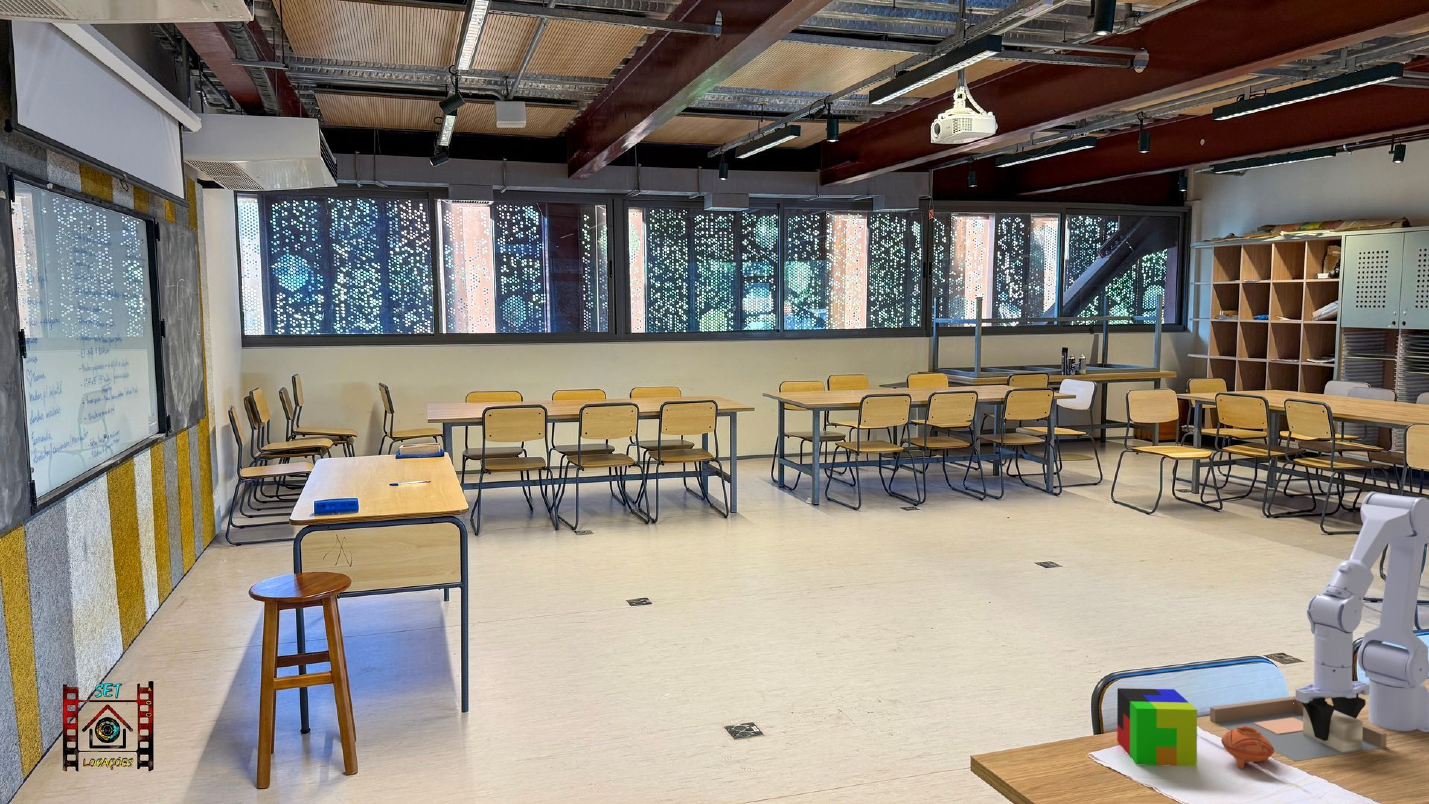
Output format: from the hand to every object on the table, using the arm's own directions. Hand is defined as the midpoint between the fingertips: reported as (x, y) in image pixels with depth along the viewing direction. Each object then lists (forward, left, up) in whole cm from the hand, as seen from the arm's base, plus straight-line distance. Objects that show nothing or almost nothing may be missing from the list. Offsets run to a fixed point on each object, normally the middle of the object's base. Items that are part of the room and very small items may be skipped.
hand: (1332, 736), depth 167 cm
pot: (+20, +2, -2) cm, 20 cm away
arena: (+3, -5, -2) cm, 6 cm away
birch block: (0, 0, -1) cm, 1 cm away
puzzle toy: (+32, -6, -2) cm, 33 cm away
